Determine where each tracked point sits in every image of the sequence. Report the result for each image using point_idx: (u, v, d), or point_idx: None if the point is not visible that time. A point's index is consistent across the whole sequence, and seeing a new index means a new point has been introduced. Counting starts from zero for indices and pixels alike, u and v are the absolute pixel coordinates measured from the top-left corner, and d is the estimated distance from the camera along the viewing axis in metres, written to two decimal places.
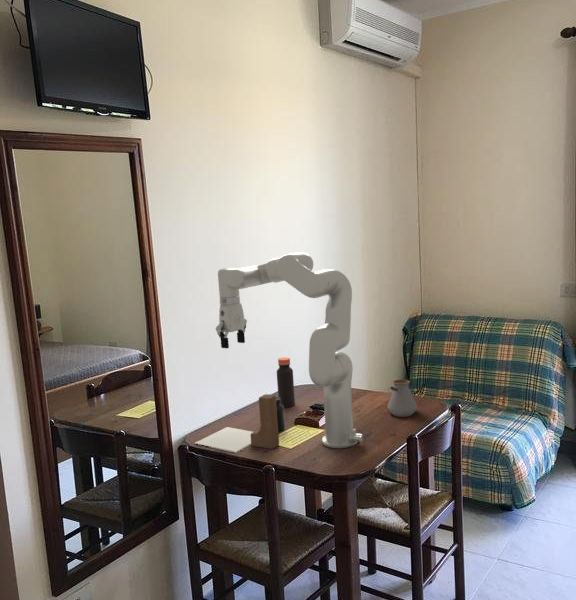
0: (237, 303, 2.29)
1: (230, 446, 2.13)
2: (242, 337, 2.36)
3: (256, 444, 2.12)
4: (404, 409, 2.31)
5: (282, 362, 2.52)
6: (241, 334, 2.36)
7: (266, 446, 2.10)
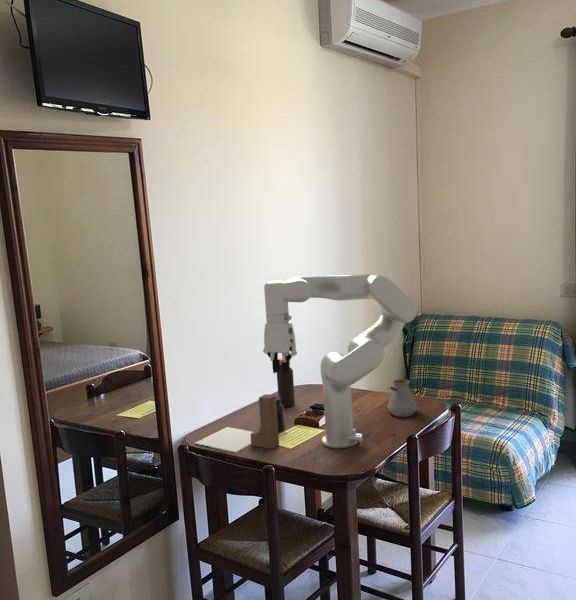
0: None
1: (230, 446, 2.13)
2: (278, 365, 2.06)
3: (256, 444, 2.12)
4: (404, 409, 2.31)
5: None
6: (278, 361, 2.05)
7: (266, 446, 2.10)
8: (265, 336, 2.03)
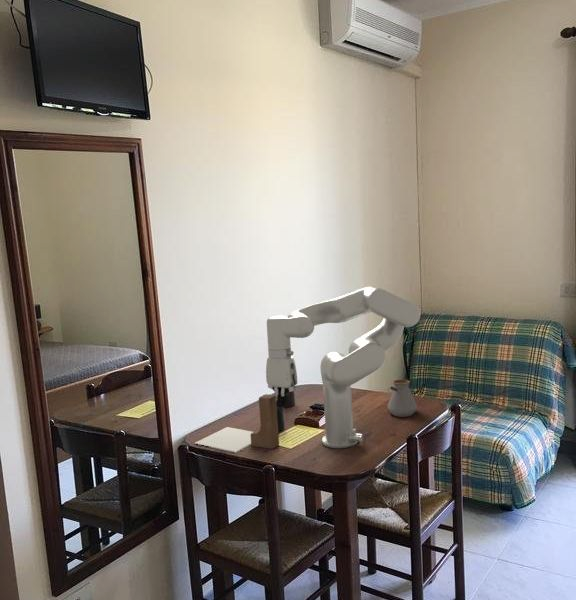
0: None
1: (230, 446, 2.13)
2: None
3: (256, 444, 2.12)
4: (404, 409, 2.31)
5: None
6: None
7: (266, 446, 2.10)
8: (267, 370, 2.05)
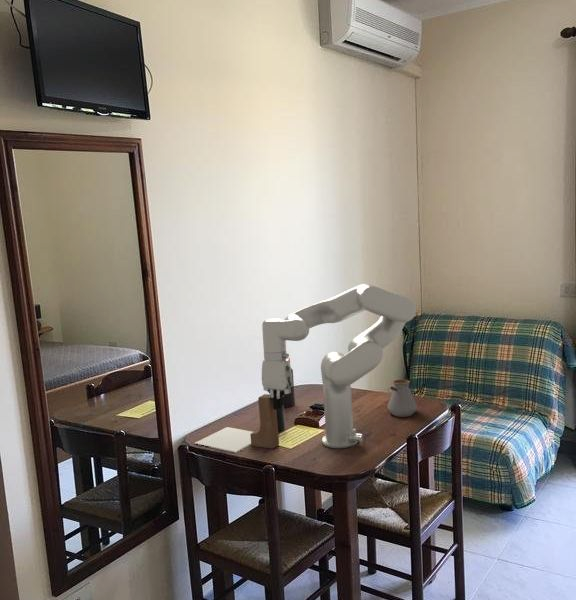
0: None
1: (230, 446, 2.13)
2: None
3: (256, 444, 2.12)
4: (404, 409, 2.31)
5: None
6: None
7: (266, 446, 2.10)
8: (262, 373, 2.06)
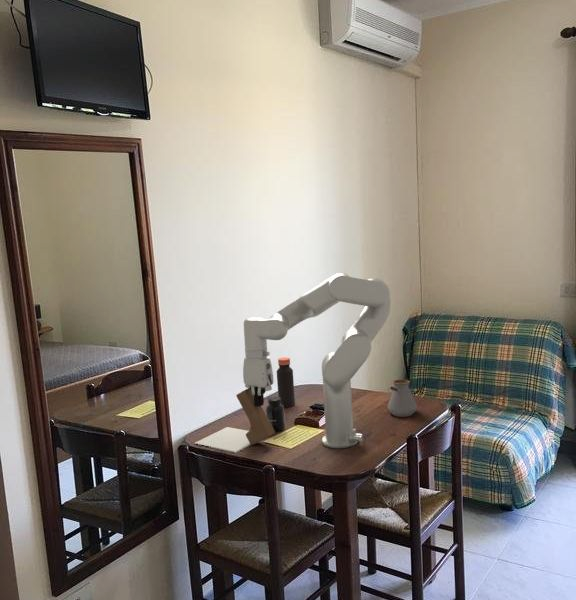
0: None
1: (230, 446, 2.13)
2: None
3: (254, 441, 2.12)
4: (404, 409, 2.31)
5: (282, 362, 2.52)
6: None
7: (262, 437, 2.10)
8: (244, 370, 2.10)
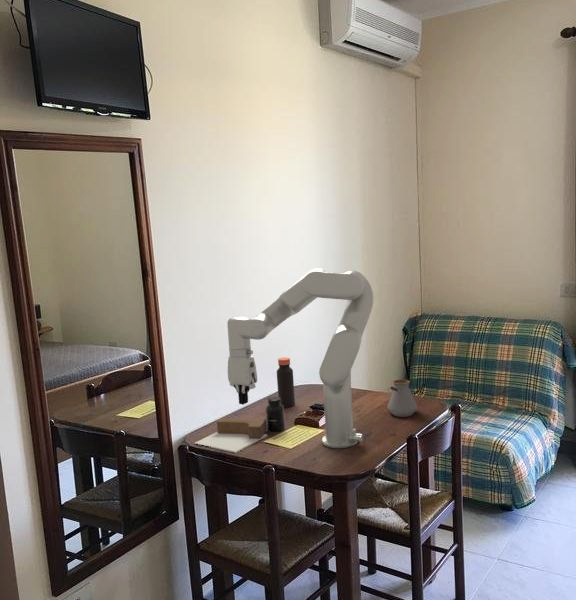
0: None
1: (230, 446, 2.13)
2: None
3: (259, 424, 2.20)
4: (404, 409, 2.31)
5: (282, 362, 2.52)
6: None
7: (262, 420, 2.24)
8: (228, 369, 2.14)
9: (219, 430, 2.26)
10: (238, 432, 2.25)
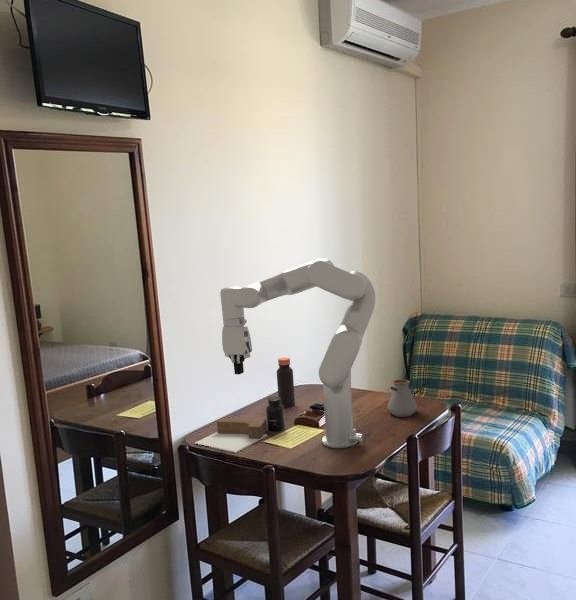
0: None
1: (230, 446, 2.13)
2: None
3: (259, 424, 2.20)
4: (404, 409, 2.31)
5: (282, 362, 2.52)
6: None
7: (262, 420, 2.24)
8: (223, 339, 2.14)
9: (219, 430, 2.26)
10: (238, 432, 2.25)
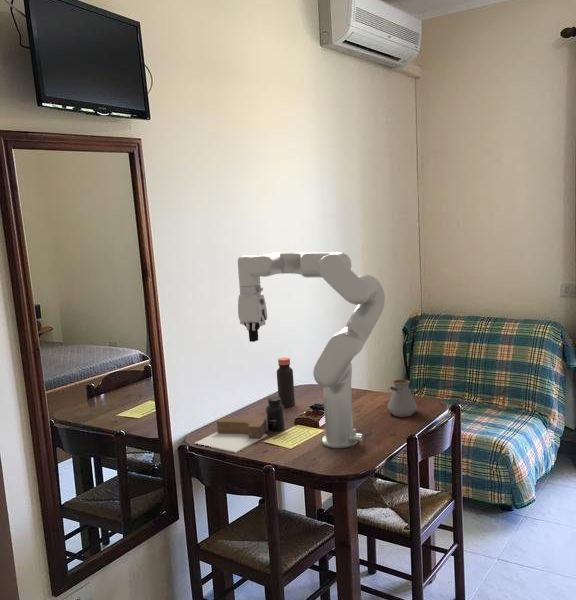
0: None
1: (230, 446, 2.13)
2: None
3: (259, 424, 2.20)
4: (404, 409, 2.31)
5: (282, 362, 2.52)
6: None
7: (262, 420, 2.24)
8: (239, 307, 2.18)
9: (219, 430, 2.26)
10: (238, 432, 2.25)
